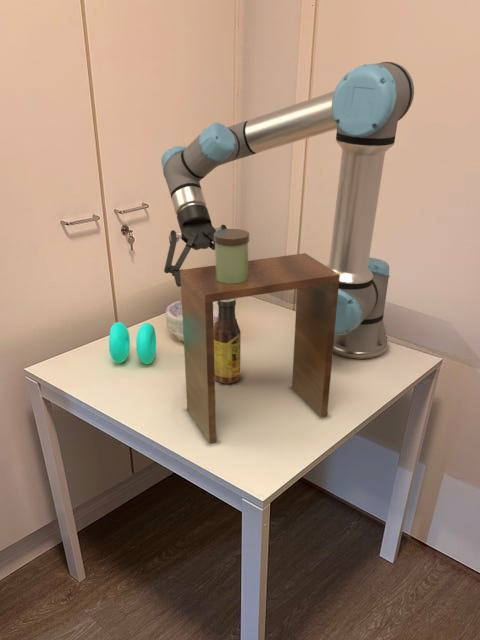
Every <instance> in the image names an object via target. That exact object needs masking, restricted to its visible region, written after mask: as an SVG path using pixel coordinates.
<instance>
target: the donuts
mask: <svg viewBox="0 0 480 640" xmlns="http://www.w3.org/2000/svg"><path fill="white" fill-rule="evenodd" d="M155 329H156V328H155V326H154V325H153V324H152V323H150V322H144V323H142V324H141V325H140V326H139V328H138V330H137V334H136V343H135V344H136V353H137V356H138V359H139V360H140V362H142V364H145V365H150V364H152V363H153V361H154V360H155V357H156V351H157V335H156V330H155ZM129 332H130V331H129V329H128V327H127V326H126V324H124V322H121V321H116V322H114V323H113V324H112V326H111V328H110V331H109V336H108V349H109V355H110V358H111V360H112V361H113V362H114V363H115V364H122V363H123V362H125V361H126V360H127V358H128V356H129V354H130V347H131V339H130V333H129Z"/></svg>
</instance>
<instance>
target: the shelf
mask: <svg viewBox="0 0 480 640" xmlns="http://www.w3.org/2000/svg"><path fill="white" fill-rule="evenodd" d="M339 277H340V275H339V274H338V273H336V272H335V271H333V270H331V269H330V268H328V267H327V266H326V265H325V264H323V263H322V262H320V261H319V260H318V259H315V258H314V257H312V256H310V255H309V254H308V253H305V252H304V253H296V254H287V255H282V256H274V257H267V258H259V259H252V260H248V279H247V280H246V281H245V282H242V283H237V284H227V283H222V282H219V281H217V280H216V270H215V264H214V265H207V266H200V267H199V266H198V267H192V268H185V269H183V270H181V269H180V278H181V286H180V295H181V297H180V298H181V300H182V316H183V335H184V342H183V352H184V353H183V354H184V372H185V390H186V405H187V406H186V409H187V413H188V414H189V415H190V416H191V418H192V420H193V421H194V422H195V424H196V425H197V427H198V429H199V430H200V432H201V433H202V435H203V436H204V437H205V439H206V441H207V442H208V444H214V443H217V417H216V416H217V414H216V379H215V366H214V324H213V302H218V301H221V300H228V299H234V298H235V299H239V298H247V297H253V296H259V295H266V294H271V293H272V294H273V293H279V292H285V291H291V290H296V301H295V302H296V303H295V304H296V305H295V323H294V341H293V359H292V378H291V379H292V380H291V389H292V390H293V391H294V392H295V393H296V394H297V395H298V396H299V397H300V398H301V399H302V400H303V401H304V402H305V404H307V405H308V406H309V407H310V408H311V409H312V410H313V411H314V412H315V414H316V415H318V416H319V417H320V418H326V417H328V411H329V400H330V398H329V397H330V388H331V377H332V367H333V366H332V365H333V354H334V352H333V344H334V333H335V322H336V310H337V299H338V288H339Z"/></svg>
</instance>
